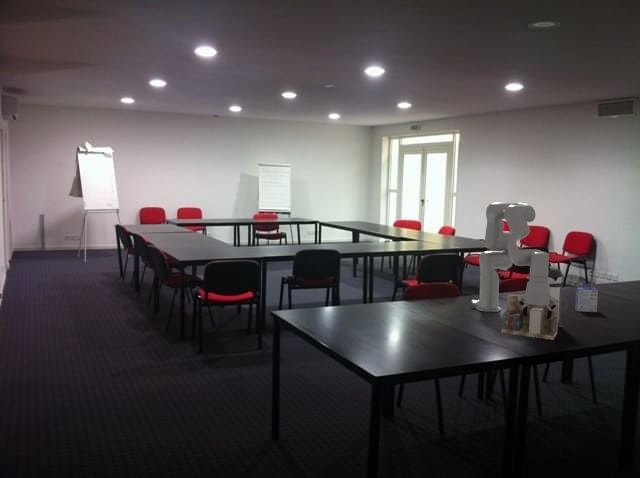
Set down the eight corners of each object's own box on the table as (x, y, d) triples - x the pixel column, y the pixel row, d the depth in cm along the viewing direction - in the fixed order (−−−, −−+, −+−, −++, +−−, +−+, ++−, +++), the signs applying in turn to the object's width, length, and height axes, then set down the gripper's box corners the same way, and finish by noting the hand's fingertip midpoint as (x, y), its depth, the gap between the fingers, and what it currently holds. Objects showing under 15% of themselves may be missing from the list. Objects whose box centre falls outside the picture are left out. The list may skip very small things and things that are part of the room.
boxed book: (529, 332, 241) (530, 310, 240) (532, 328, 247) (533, 306, 246) (539, 333, 238) (540, 311, 237) (542, 329, 245) (543, 308, 244)
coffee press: (568, 324, 261) (571, 262, 258) (555, 330, 250) (558, 266, 246) (532, 317, 273) (535, 258, 270) (518, 323, 262) (521, 262, 259)
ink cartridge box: (594, 310, 290) (595, 283, 289) (597, 312, 285) (599, 285, 284) (574, 309, 292) (576, 282, 291) (577, 311, 287) (578, 284, 285)
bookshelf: (501, 332, 245) (502, 299, 244) (506, 326, 256) (508, 294, 254) (553, 340, 234) (555, 304, 233) (557, 333, 244) (558, 299, 243)
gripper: (516, 279, 241) (515, 316, 243) (558, 282, 233) (556, 321, 234) (519, 276, 248) (518, 313, 250) (560, 280, 239) (559, 318, 241)
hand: (536, 317), depth 242 cm, fingers open, 9 cm apart
